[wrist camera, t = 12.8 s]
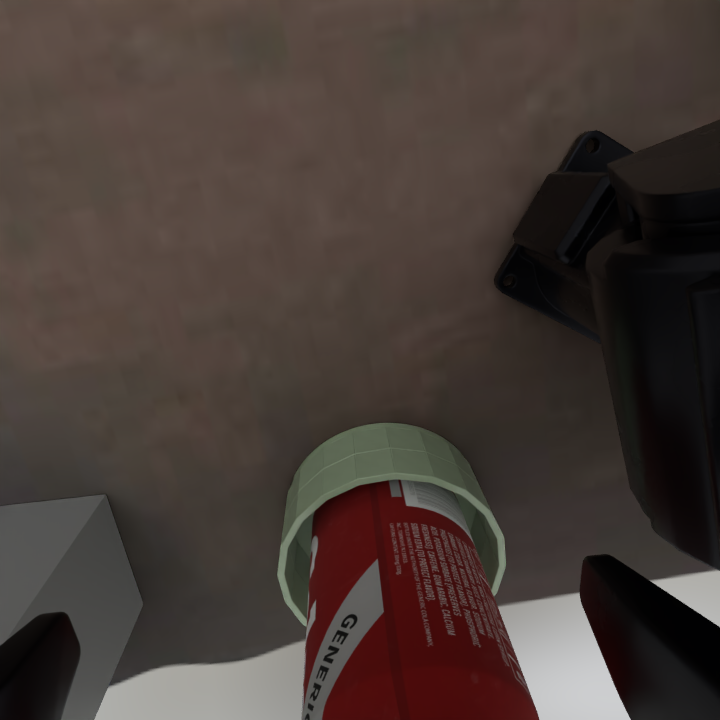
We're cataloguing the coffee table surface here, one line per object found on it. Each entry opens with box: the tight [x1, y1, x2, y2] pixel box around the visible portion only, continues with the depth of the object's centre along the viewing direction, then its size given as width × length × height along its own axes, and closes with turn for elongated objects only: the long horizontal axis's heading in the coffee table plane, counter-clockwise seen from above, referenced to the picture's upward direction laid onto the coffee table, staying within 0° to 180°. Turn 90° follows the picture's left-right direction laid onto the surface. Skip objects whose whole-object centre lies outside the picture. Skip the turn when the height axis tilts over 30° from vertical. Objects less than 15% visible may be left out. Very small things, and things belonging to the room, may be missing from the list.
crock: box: [277, 423, 506, 627], centre depth 22 cm, size 9×9×4 cm
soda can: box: [302, 479, 539, 720], centre depth 18 cm, size 7×7×12 cm
